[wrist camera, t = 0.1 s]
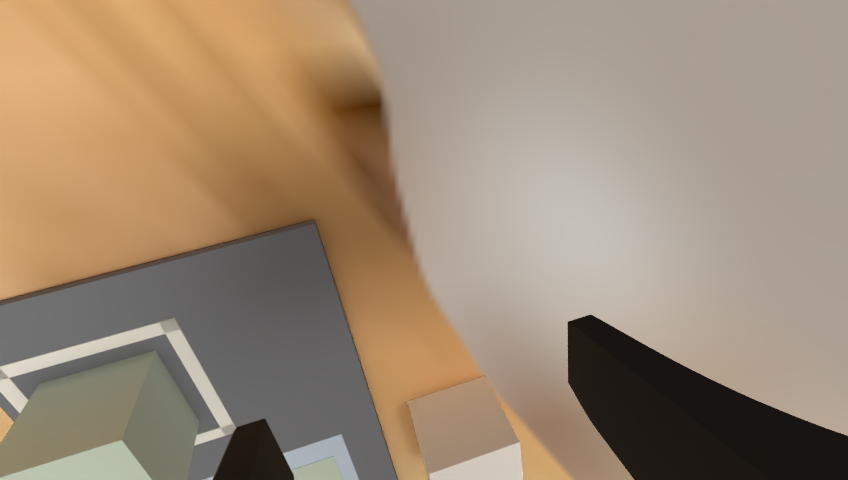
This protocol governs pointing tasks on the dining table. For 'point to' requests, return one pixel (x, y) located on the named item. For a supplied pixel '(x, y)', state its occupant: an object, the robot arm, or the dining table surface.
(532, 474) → the dining table surface
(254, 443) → the robot arm
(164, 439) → the base block
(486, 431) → the top block
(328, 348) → the mat
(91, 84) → the dining table surface
